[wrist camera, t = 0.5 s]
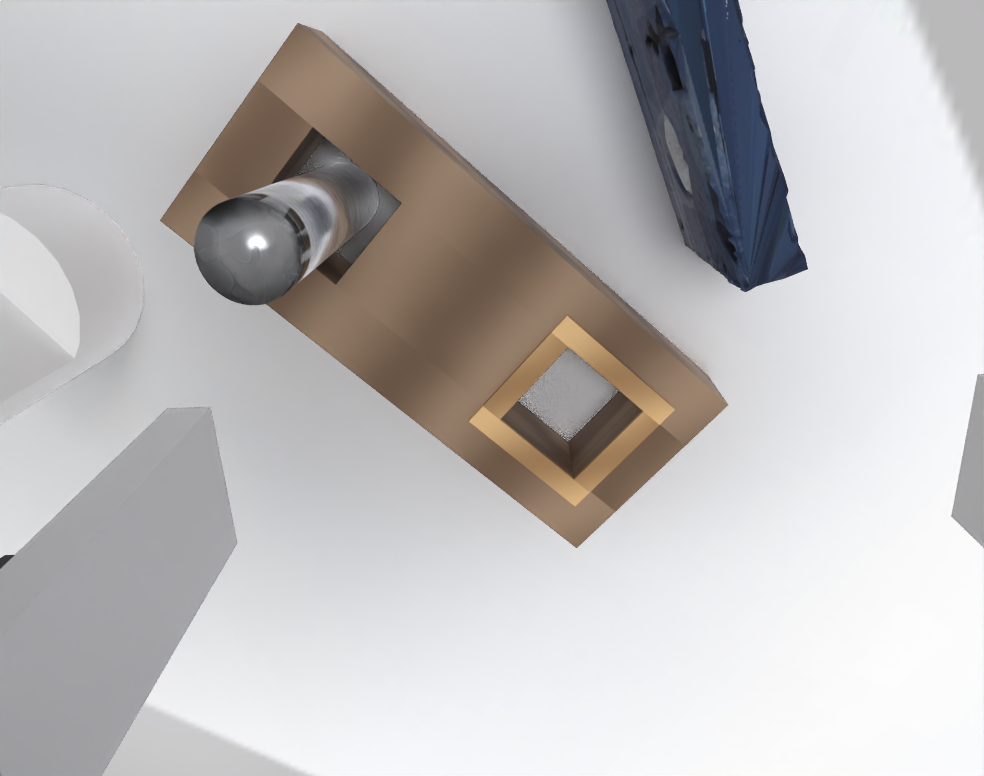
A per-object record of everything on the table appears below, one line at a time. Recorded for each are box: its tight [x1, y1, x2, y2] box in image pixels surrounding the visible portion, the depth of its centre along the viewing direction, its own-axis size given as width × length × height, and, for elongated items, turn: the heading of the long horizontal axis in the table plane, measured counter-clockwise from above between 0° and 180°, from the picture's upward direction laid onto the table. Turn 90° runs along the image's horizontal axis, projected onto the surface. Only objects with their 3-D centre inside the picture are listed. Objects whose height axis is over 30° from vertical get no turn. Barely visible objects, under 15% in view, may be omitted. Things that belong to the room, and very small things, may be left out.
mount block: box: [160, 23, 728, 548], centre depth 36 cm, size 24×10×4 cm, turn 49°
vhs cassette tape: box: [606, 0, 808, 292], centre depth 29 cm, size 18×3×10 cm, turn 21°
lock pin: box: [194, 162, 379, 305], centre depth 30 cm, size 3×3×14 cm
